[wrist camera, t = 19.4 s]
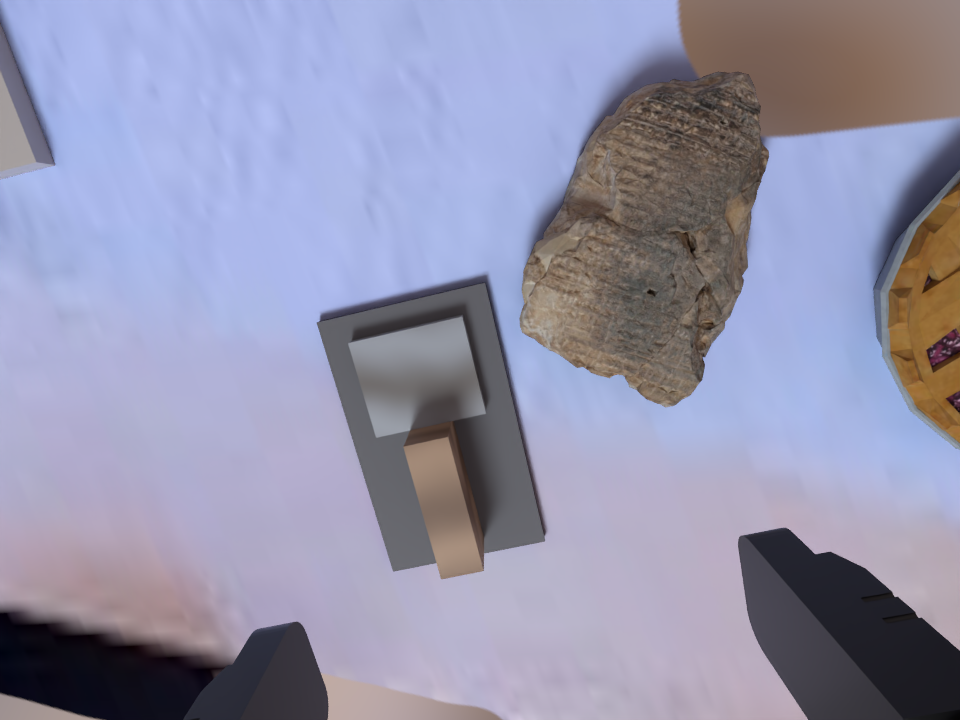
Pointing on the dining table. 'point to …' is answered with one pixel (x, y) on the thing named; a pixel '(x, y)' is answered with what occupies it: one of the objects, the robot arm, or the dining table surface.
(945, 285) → the pie
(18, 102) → the tile
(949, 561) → the dining table surface
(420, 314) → the mat
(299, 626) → the robot arm
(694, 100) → the clay tablet
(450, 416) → the turner
